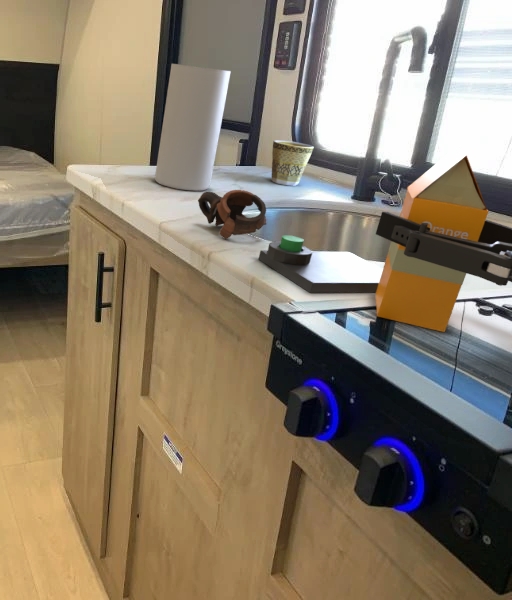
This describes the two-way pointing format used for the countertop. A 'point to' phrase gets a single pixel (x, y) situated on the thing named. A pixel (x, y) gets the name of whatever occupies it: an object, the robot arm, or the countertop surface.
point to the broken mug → (232, 212)
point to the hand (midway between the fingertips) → (425, 224)
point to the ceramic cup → (289, 161)
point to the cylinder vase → (191, 127)
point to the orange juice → (441, 219)
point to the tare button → (291, 243)
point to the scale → (323, 269)
